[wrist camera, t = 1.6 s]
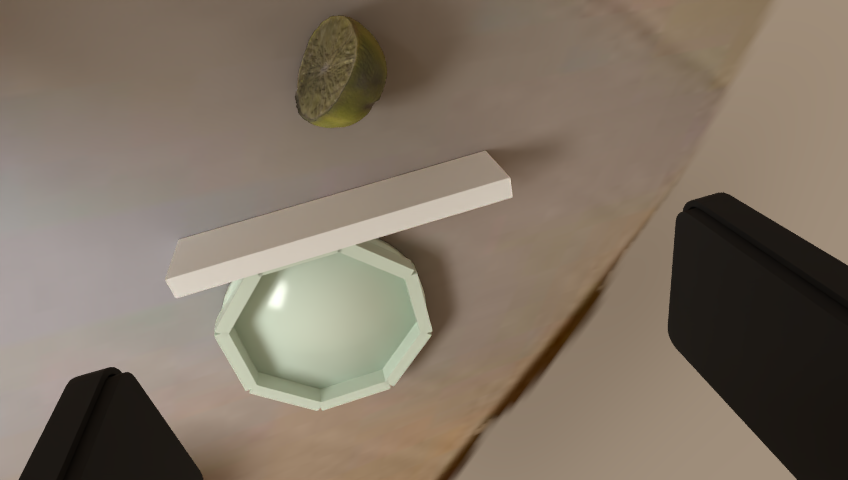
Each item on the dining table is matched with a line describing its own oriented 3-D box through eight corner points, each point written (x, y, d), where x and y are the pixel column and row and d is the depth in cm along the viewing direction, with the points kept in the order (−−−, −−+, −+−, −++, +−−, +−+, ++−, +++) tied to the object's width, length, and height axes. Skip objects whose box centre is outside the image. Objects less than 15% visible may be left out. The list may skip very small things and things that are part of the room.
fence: (178, 239, 29) (164, 279, 26) (485, 150, 31) (510, 177, 27) (188, 256, 30) (175, 298, 26) (488, 168, 31) (512, 197, 28)
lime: (299, 116, 27) (302, 149, 23) (278, 16, 25) (277, 33, 21) (384, 103, 28) (401, 134, 24) (372, 5, 25) (389, 19, 21)
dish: (185, 266, 30) (179, 283, 28) (399, 202, 31) (405, 216, 30) (266, 411, 37) (265, 431, 35) (439, 355, 38) (446, 372, 36)
